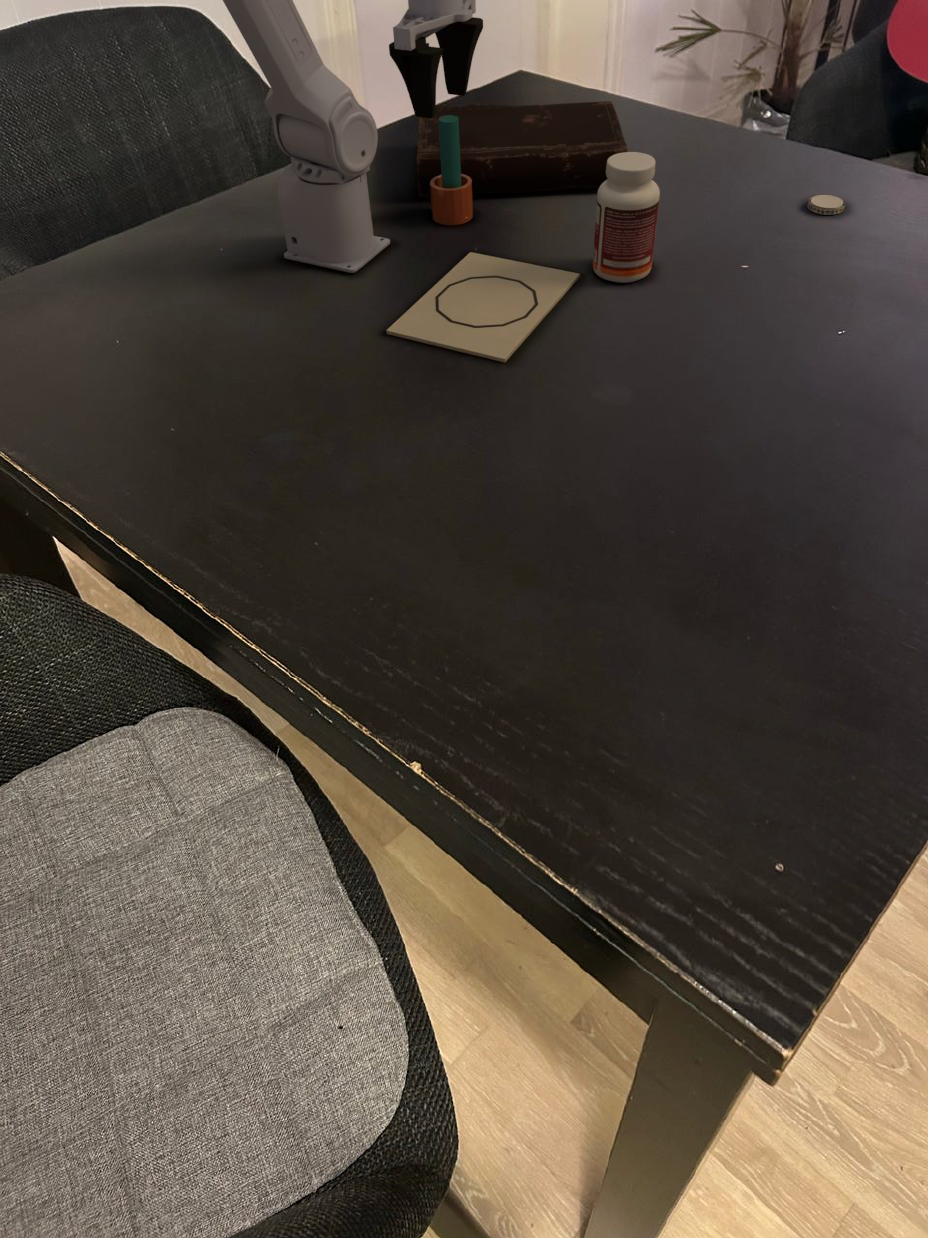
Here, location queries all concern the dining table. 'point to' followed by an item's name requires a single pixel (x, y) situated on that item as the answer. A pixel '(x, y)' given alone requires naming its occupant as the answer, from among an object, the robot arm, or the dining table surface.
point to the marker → (450, 151)
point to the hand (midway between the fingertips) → (441, 104)
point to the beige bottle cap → (826, 204)
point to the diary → (525, 146)
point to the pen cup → (451, 201)
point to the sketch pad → (484, 306)
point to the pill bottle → (626, 218)
